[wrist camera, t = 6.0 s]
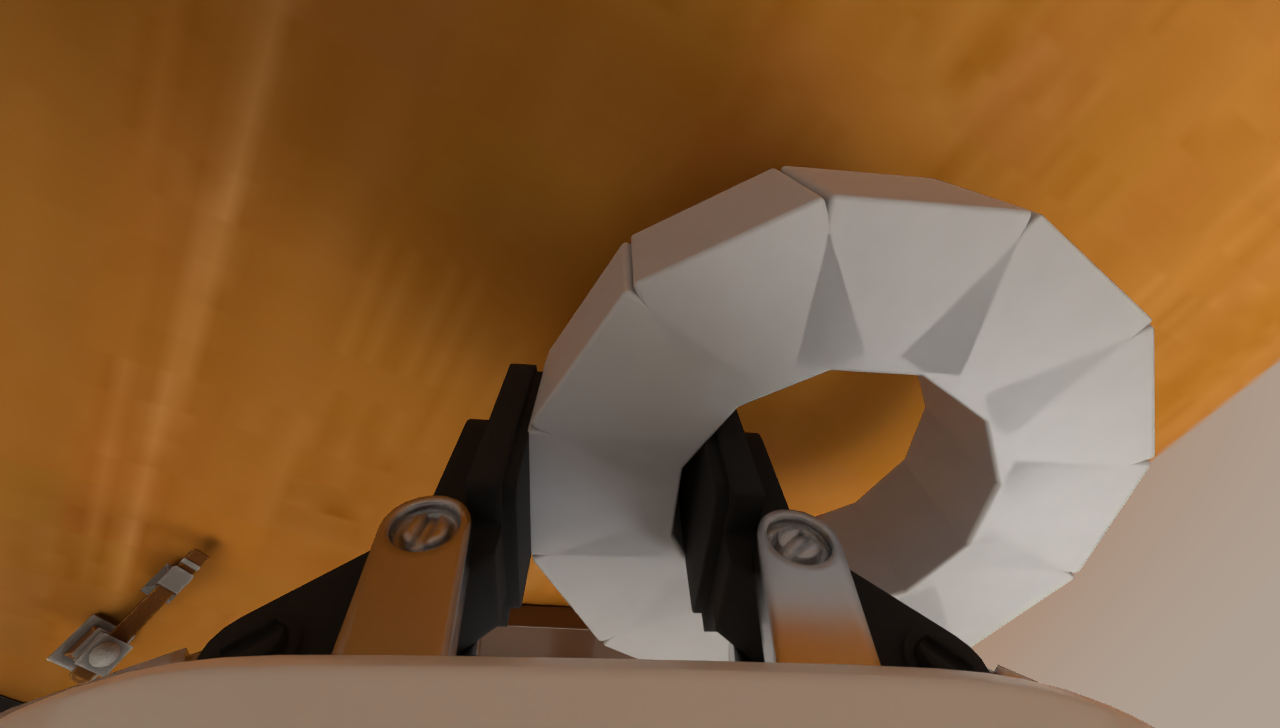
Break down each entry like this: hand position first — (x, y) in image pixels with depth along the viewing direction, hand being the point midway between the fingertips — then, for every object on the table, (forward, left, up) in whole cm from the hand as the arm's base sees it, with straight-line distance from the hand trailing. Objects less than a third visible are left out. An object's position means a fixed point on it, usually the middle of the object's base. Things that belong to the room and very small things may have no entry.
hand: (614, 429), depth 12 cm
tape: (0, +4, -1) cm, 4 cm away
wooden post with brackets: (+12, -18, -5) cm, 23 cm away
